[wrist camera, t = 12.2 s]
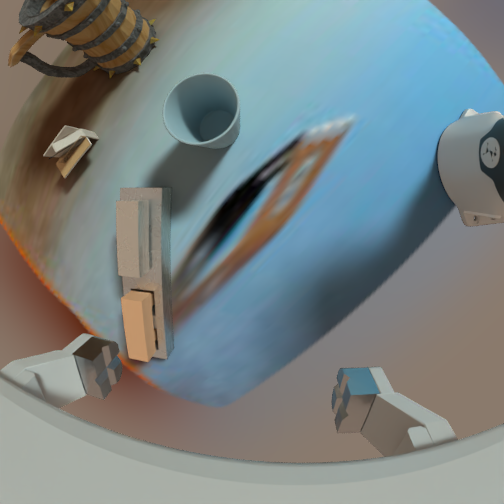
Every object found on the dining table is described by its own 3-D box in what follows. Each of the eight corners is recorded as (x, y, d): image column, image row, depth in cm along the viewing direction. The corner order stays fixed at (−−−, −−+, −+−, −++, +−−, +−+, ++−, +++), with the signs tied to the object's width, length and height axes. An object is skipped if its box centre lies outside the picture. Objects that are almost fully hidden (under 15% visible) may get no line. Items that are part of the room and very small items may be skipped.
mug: (178, 41, 32) (119, -38, 12) (91, 116, 35) (-4, 88, 15) (141, 4, 30) (85, -60, 10) (65, 71, 33) (-14, 38, 14)
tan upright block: (161, 283, 39) (141, 301, 33) (165, 338, 41) (148, 362, 34) (143, 281, 40) (120, 298, 33) (147, 335, 41) (129, 358, 35)
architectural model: (105, 145, 36) (76, 139, 29) (78, 178, 37) (48, 178, 30) (95, 131, 36) (65, 123, 28) (69, 163, 37) (38, 161, 30)
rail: (171, 187, 36) (150, 187, 30) (174, 347, 42) (159, 372, 35) (132, 187, 37) (106, 188, 30) (139, 341, 42) (121, 364, 35)
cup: (254, 150, 35) (247, 133, 24) (196, 163, 36) (168, 154, 25) (242, 96, 33) (231, 64, 23) (186, 111, 34) (157, 86, 24)
